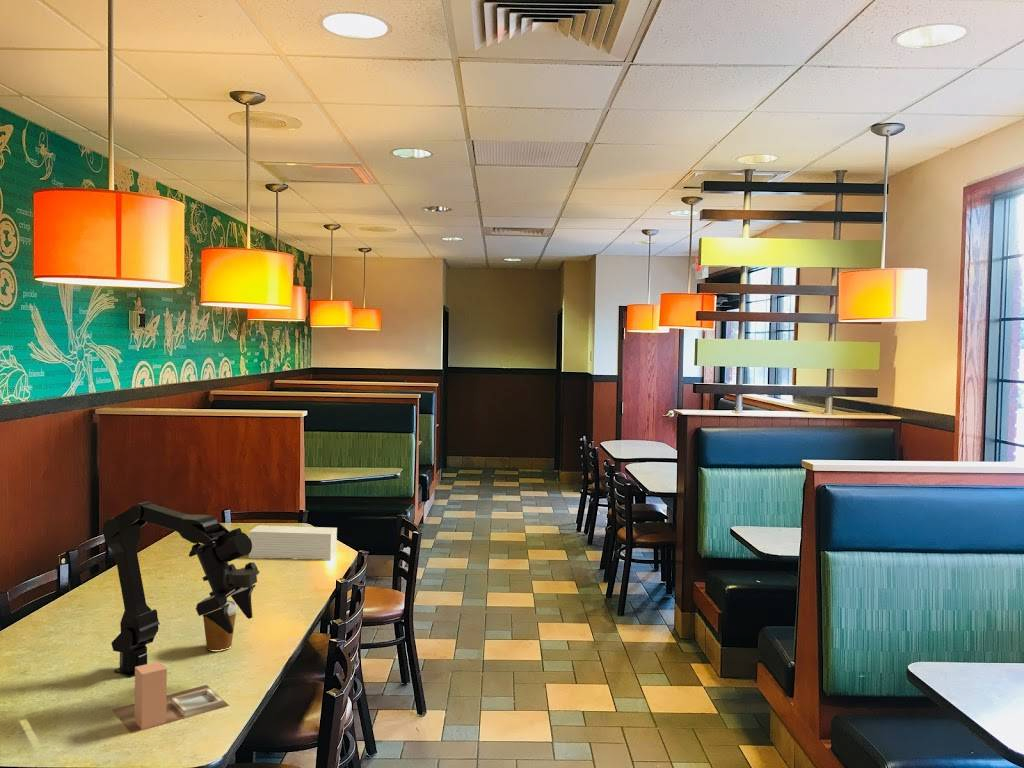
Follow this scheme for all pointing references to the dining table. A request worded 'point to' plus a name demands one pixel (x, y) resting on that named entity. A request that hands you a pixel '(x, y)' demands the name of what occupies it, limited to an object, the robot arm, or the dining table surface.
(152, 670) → the pillar
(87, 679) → the dining table surface
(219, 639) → the disposable coffee cup
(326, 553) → the stack of papers
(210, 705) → the baseboard
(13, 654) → the dining table surface
